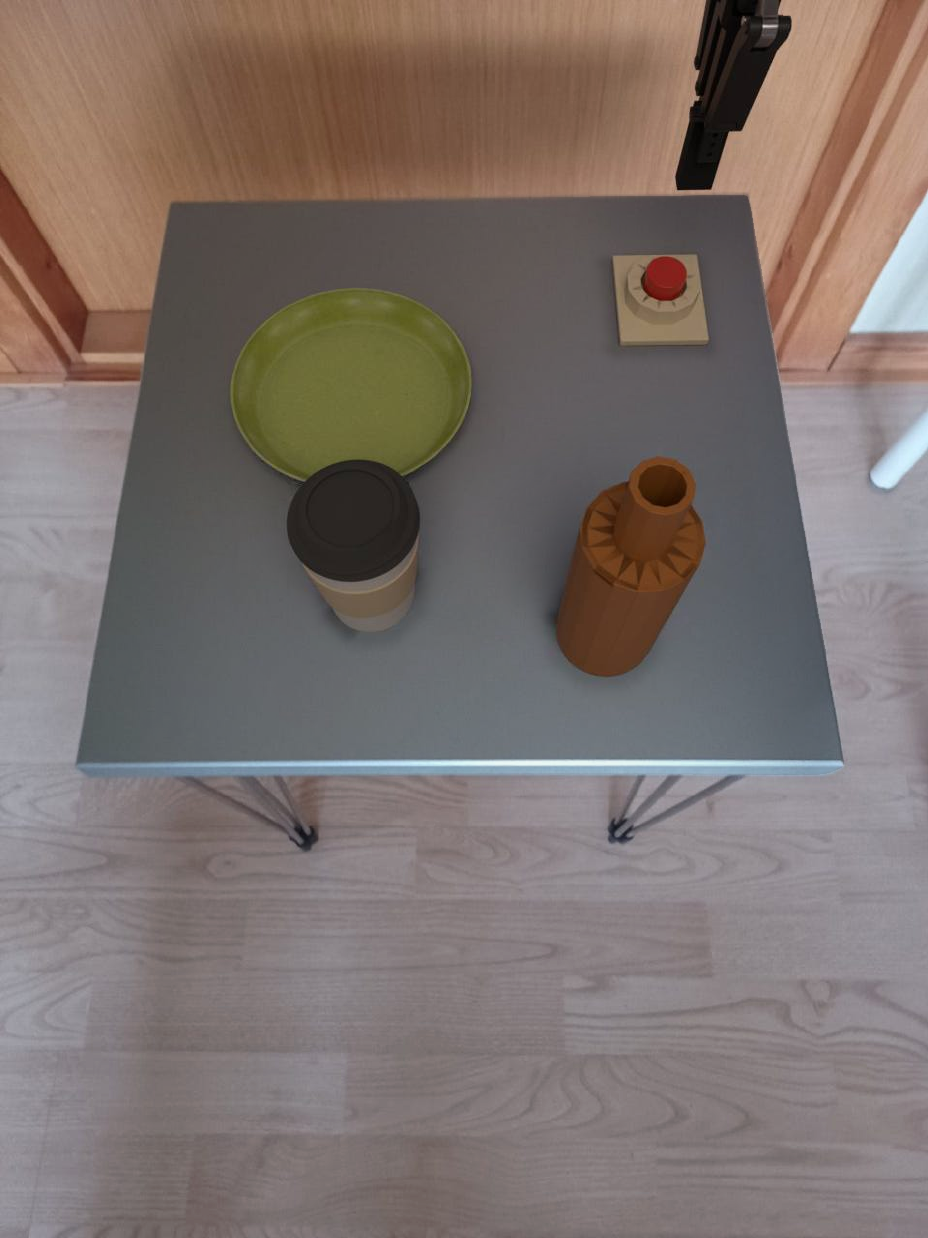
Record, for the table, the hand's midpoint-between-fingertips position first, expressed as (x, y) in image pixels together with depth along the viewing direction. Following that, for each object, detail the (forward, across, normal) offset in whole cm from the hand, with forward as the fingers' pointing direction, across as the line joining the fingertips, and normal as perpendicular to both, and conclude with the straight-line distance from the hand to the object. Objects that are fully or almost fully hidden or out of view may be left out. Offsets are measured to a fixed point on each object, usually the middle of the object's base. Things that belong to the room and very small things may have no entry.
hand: (693, 182), depth 69 cm
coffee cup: (+14, +29, -26) cm, 41 cm away
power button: (+11, 0, 0) cm, 11 cm away
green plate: (+14, +11, -28) cm, 33 cm away
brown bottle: (+14, +33, -7) cm, 36 cm away
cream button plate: (+14, 0, 0) cm, 14 cm away
